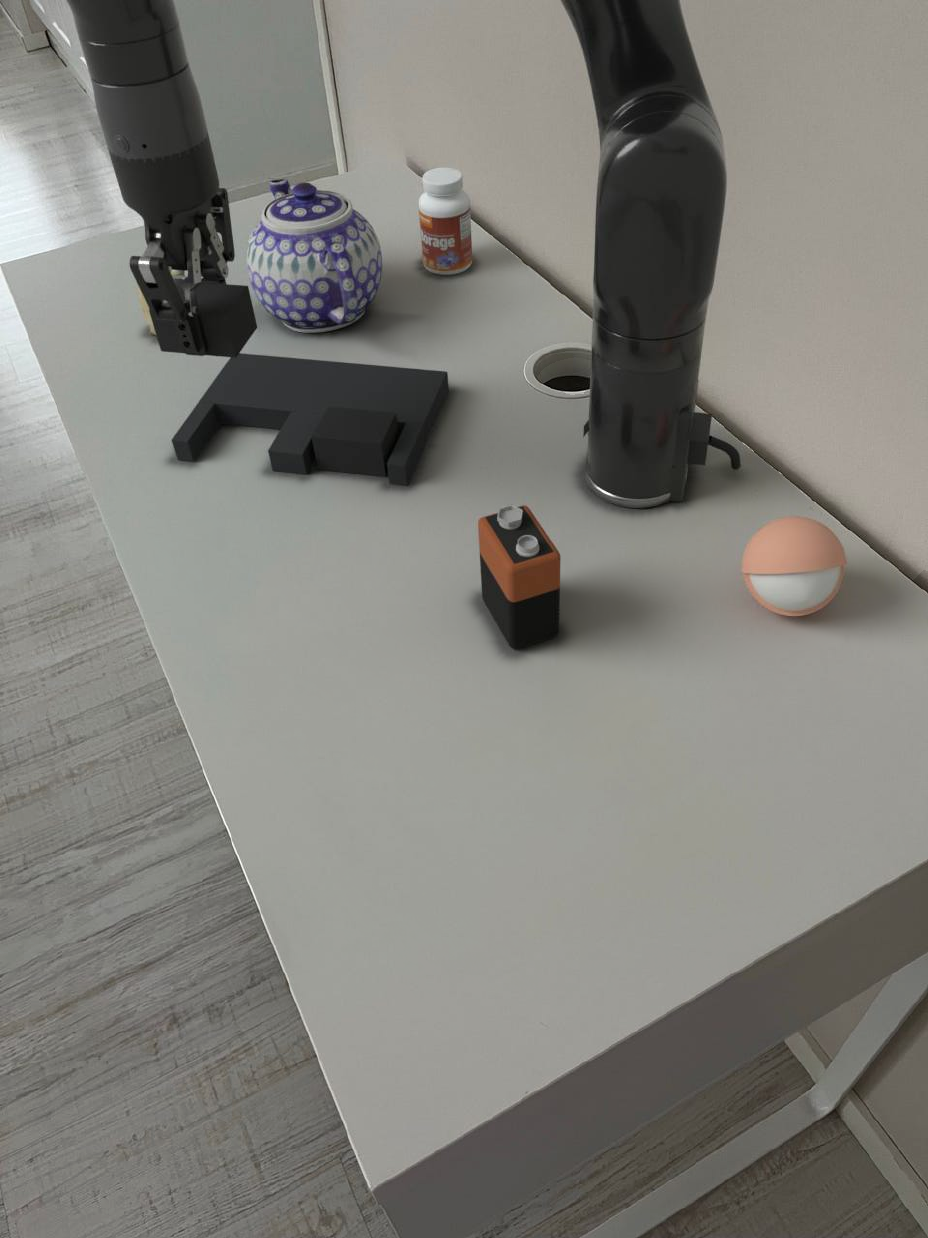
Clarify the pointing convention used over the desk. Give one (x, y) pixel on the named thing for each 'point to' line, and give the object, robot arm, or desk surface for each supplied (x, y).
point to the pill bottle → (445, 222)
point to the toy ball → (794, 565)
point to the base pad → (314, 406)
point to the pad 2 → (355, 441)
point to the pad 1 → (215, 320)
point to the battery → (519, 575)
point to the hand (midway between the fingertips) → (209, 334)
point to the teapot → (313, 259)
